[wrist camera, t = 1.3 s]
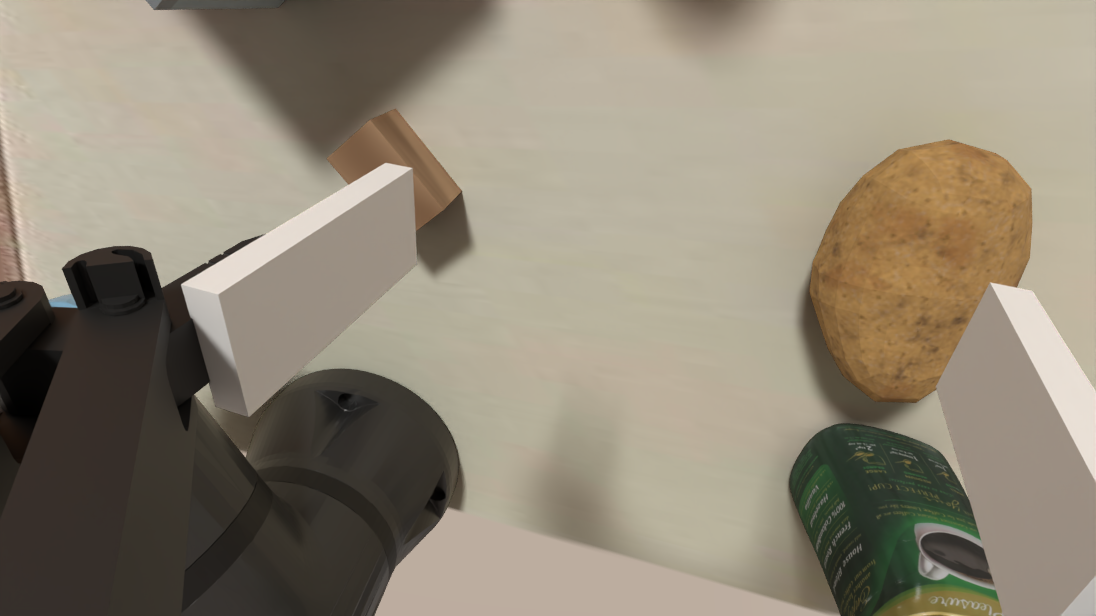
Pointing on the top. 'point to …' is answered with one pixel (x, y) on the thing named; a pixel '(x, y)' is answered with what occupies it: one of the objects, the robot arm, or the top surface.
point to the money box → (212, 4)
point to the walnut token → (397, 162)
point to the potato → (917, 263)
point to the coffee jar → (891, 526)
